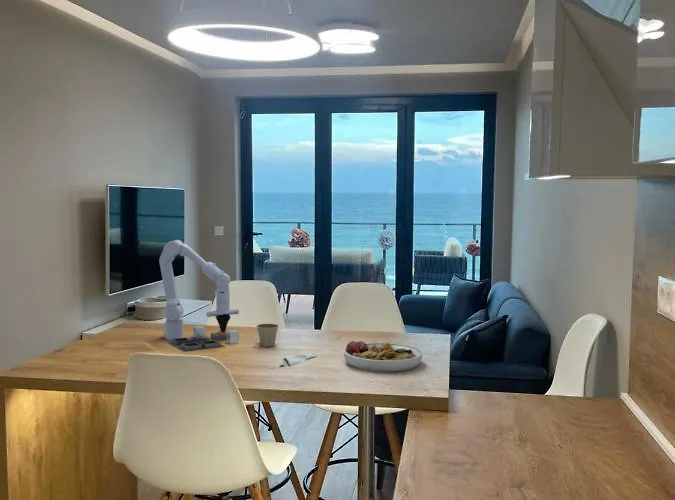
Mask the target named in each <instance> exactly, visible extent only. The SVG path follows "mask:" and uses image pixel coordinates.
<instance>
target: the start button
mask: <svg viewBox="0 0 675 500" xmlns="http://www.w3.org/2000/svg"><path fill="white" fill-rule="evenodd" d="M226 331H227V330H226ZM226 331H225V332H221V331H220V330H219V331H218V335H226Z"/></svg>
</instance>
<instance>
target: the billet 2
mask: <svg viewBox="0 0 675 500" xmlns="http://www.w3.org/2000/svg"><path fill="white" fill-rule="evenodd" d="M225 342H226V343H228V344H230V345H232V344H233V345H234V344H240V331H239V330H237V329H230V330H226V340H225Z"/></svg>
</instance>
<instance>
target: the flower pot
mask: <svg viewBox="0 0 675 500" xmlns="http://www.w3.org/2000/svg"><path fill="white" fill-rule="evenodd" d="M256 328H257V331H258V332H257V333H258V337H259V339H258V340H259V345H260V346H261V347H263V348H264V347H265V348H268V347H271V348H273V347H274V346H275V345H276V338H277V331H278V328H279V324H275V323H258V324H257V325H256Z"/></svg>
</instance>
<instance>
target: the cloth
mask: <svg viewBox="0 0 675 500" xmlns="http://www.w3.org/2000/svg"><path fill="white" fill-rule="evenodd" d="M316 357H317V356H316V353H312V352H310V353H298V354H295V355H294V354H293V355H286V356H283V357H281V359H280V362H279V366H278V367H279V369H281V367H282V366H283V367H284V366H285V367H287V366H290V367H293V366H296V365H300V364H302V363H303V364H304V363H305V362H306V361H307V360H308V359H312V358H316Z"/></svg>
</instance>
